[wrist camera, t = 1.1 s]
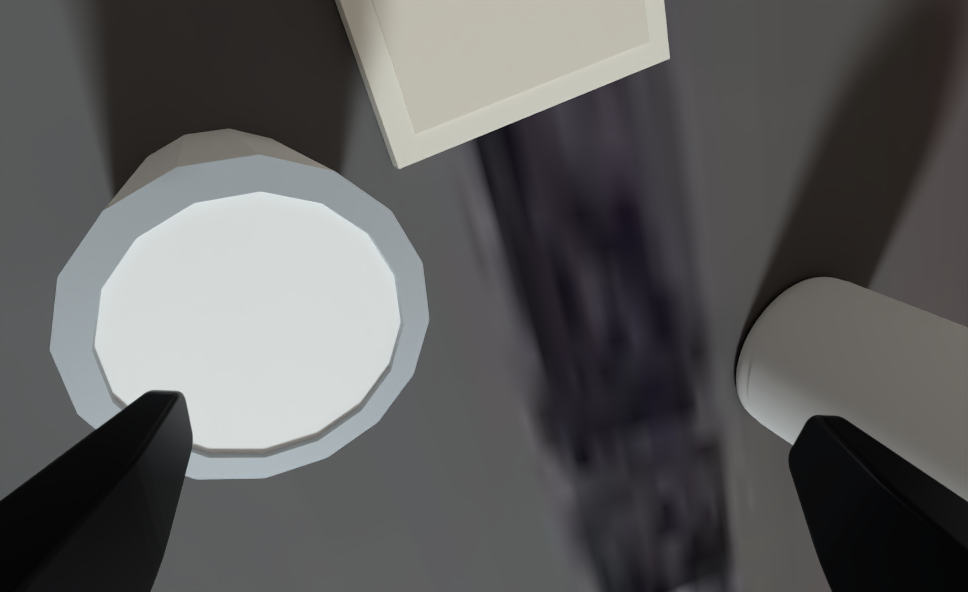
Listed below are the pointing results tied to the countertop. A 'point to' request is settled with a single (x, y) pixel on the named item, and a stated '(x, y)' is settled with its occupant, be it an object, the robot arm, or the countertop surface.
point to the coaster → (490, 61)
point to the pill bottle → (862, 372)
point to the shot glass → (242, 303)
